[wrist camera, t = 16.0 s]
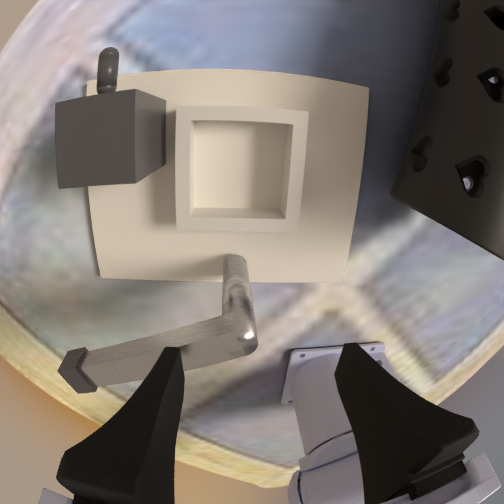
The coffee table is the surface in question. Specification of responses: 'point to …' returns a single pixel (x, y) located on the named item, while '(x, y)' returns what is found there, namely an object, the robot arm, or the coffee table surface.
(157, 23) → the coffee table surface
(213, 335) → the clip
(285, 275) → the socket base
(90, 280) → the coffee table surface
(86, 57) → the coffee table surface
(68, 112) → the plug
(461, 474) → the robot arm
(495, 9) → the muzzle brake
